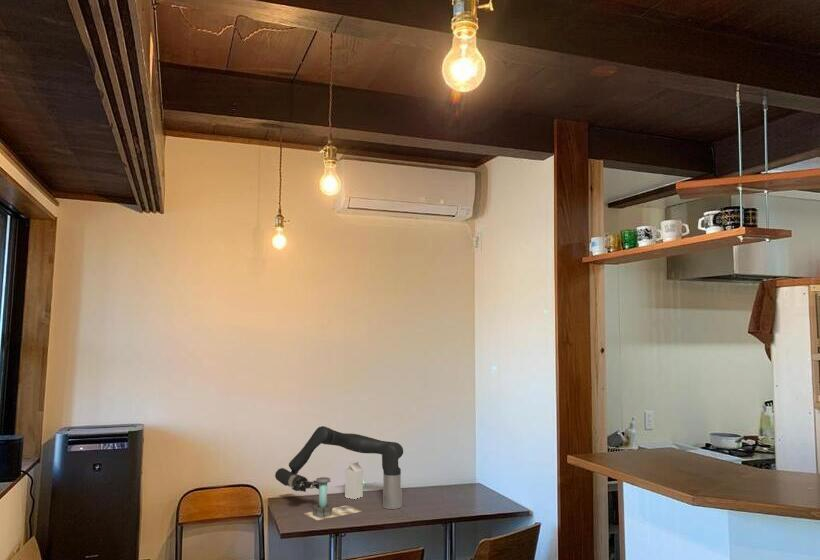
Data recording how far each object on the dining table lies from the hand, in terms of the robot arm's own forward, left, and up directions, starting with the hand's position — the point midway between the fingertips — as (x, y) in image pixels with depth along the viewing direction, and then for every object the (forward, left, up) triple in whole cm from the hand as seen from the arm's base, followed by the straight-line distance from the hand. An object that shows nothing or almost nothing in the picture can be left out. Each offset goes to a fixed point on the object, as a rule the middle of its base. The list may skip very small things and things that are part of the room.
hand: (312, 488), depth 311 cm
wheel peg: (0, +11, -10) cm, 15 cm away
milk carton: (-33, -12, -12) cm, 37 cm away
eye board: (-6, +11, -12) cm, 17 cm away
